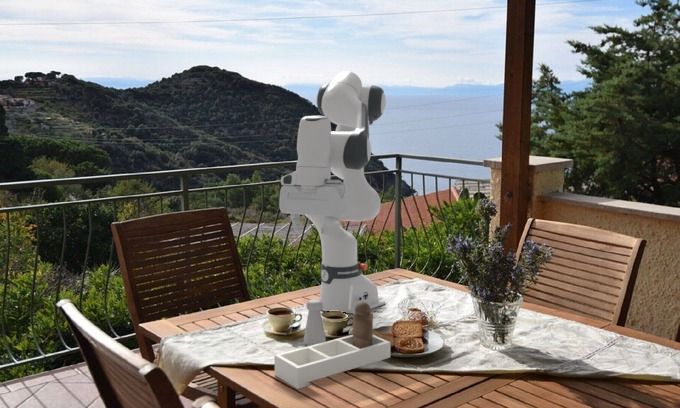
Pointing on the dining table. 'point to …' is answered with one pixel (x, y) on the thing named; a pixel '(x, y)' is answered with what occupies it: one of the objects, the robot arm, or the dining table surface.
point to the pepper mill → (362, 326)
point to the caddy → (327, 359)
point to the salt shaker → (314, 323)
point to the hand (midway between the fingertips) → (311, 233)
